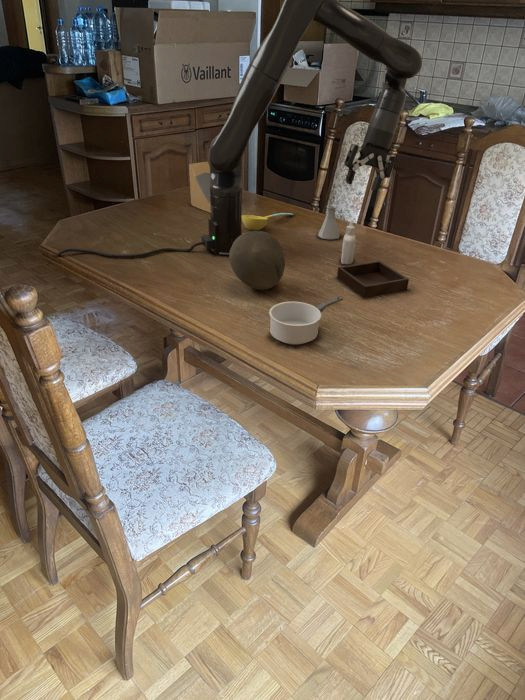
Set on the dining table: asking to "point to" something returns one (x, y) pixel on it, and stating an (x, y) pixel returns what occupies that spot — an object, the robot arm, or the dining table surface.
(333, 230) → the flask
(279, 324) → the saucepan
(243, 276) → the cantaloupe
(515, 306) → the dining table surface
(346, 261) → the eye dropper bottle
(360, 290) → the tray
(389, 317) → the dining table surface
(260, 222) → the ladle
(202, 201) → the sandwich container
